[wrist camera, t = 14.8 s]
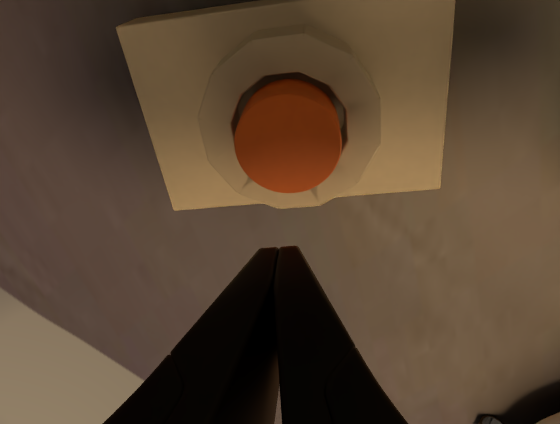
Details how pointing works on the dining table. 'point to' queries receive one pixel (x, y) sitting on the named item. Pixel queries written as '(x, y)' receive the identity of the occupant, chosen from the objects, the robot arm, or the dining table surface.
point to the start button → (288, 136)
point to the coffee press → (553, 423)
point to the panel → (303, 66)
